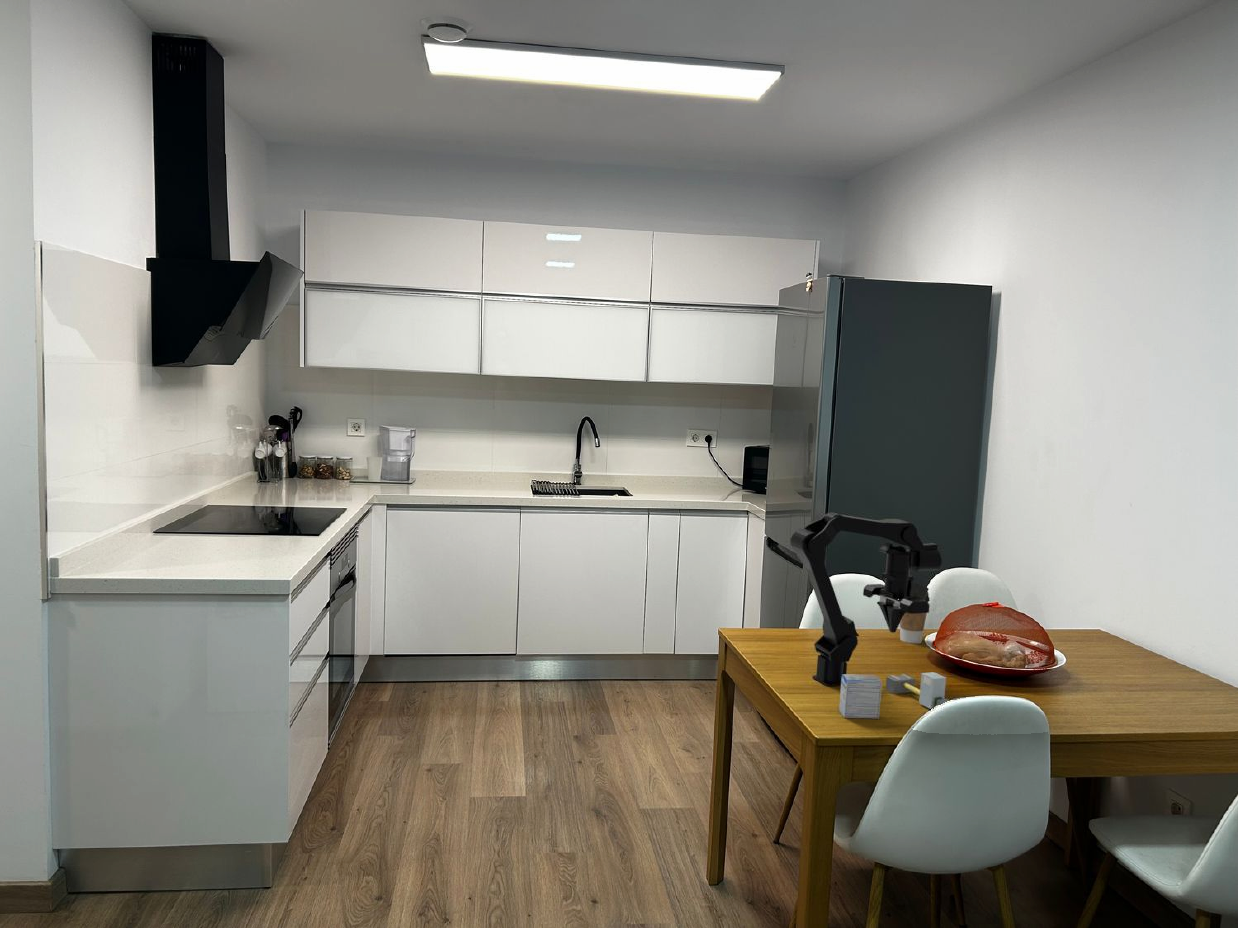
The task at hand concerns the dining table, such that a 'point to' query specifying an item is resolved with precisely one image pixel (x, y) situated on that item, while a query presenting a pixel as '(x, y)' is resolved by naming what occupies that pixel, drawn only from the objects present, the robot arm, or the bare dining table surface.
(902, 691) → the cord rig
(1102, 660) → the dining table surface
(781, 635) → the dining table surface
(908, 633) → the coffee cup
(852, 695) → the medicine box
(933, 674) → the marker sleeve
